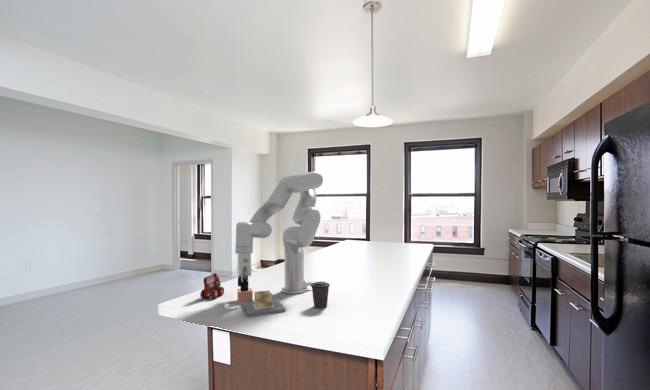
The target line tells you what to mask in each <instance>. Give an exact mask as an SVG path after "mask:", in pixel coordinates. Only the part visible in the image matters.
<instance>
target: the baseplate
mask: <svg viewBox="0 0 650 390" xmlns="http://www.w3.org/2000/svg"><path fill="white" fill-rule="evenodd" d="M241 305H242V309H243V310H244V313H245V316H246V317H247V318H249V317H256V316H263V315H264V316H265V315H270V314H277V313H278V314H279V313H285V312H286V307H285V306H284V305H283V303H282V302H280V300H279V299H278V298H277V297H276V298H272V306H270V307H263V308H257V307H256V306H255V303H254V300H253V301H251V302H243V303H241Z"/></svg>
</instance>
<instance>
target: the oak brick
mask: <svg viewBox="0 0 650 390" xmlns="http://www.w3.org/2000/svg"><path fill="white" fill-rule="evenodd" d="M253 293H254V298H253V299H254V300H253V301H254V303H255V306H256V307H257V308H263V307H270V306H272V299H273V293H272V292H271V291H270V289H269V290H268V289H267V290H259V291H254V292H253Z"/></svg>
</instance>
